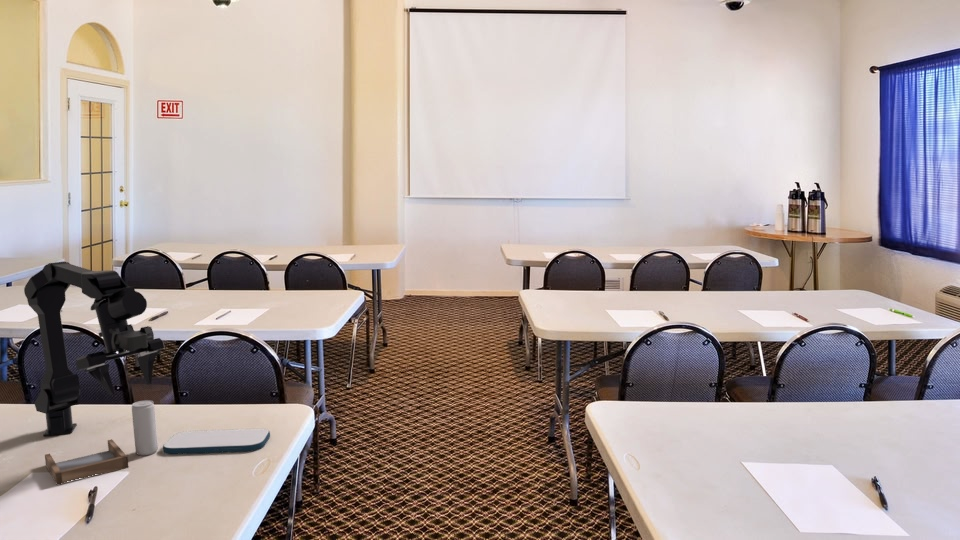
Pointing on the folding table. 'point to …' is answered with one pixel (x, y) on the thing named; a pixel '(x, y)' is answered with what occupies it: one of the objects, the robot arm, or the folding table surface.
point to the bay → (87, 464)
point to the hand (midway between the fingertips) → (131, 389)
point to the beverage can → (144, 427)
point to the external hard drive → (217, 441)
